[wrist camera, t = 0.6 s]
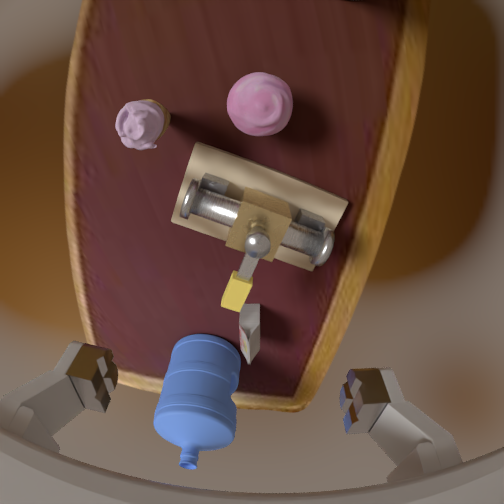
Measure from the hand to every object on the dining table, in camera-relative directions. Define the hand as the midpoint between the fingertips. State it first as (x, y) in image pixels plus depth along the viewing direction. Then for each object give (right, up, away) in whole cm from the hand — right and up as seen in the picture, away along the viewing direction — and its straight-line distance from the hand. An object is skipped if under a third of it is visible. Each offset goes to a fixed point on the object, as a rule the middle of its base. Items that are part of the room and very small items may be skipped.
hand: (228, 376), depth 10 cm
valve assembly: (+2, +11, +42) cm, 43 cm away
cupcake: (+2, +27, +34) cm, 43 cm away
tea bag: (+1, -9, +53) cm, 54 cm away
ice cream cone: (-13, +25, +35) cm, 45 cm away
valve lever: (0, +2, +33) cm, 33 cm away
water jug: (-10, -20, +59) cm, 63 cm away
